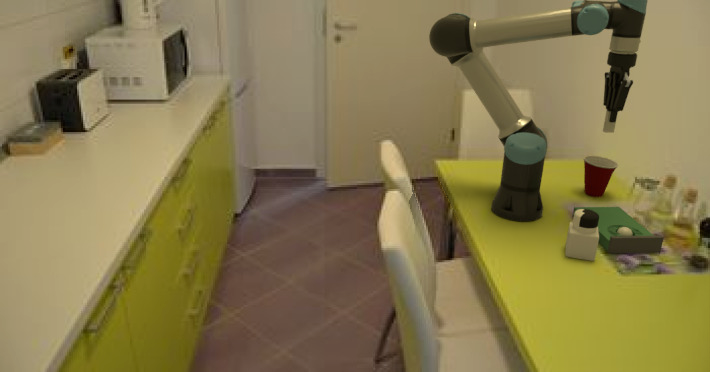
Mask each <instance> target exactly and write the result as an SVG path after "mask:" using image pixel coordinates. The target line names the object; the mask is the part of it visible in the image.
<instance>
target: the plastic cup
mask: <svg viewBox="0 0 710 372" xmlns="http://www.w3.org/2000/svg"><path fill="white" fill-rule="evenodd" d="M583 163H584V167H583V169H584V177H583V178H584V179H583V180H584V181H583V182H584V194H585V195H586V196H589V197H593V198H601V197H604V195H605V192H606V189H607V187H608V185H609V183H610V180H611V178H612V175H613V173H614V172H615V170H616V169H617V168H618V167H619V165H620V164H619V163H618V161H615V160H613V159H611V158H608V157H605V156H601V155H600V156H599V155H594V154H593V155H590V154H589V155H585V156H583Z"/></svg>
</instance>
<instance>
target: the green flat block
mask: <svg viewBox="0 0 710 372" xmlns="http://www.w3.org/2000/svg"><path fill="white" fill-rule="evenodd" d="M579 209H589V210H592V211H594V212H596V213H598V215H599V222H598V232H599V241H598V244H600V245H601V246H602V248H603V249H605V250H606V251H607V252H608V253H609V254H650V253H651V254H653V253H656V254H657V253H659V254H660V253H661V251H662V245H663V243H664V236H663V235H661V234H660V235H657V234H656V235H655V234H653V233H652V232H650V231H649V230H647V228H645V227H644V226H643V225H642V224H641V223H639V222H638V221H637V220H636V219H635V218H633V217H632V216H631V215H630V214H628V213H627V212H626V211H625V210H624V209H622V208H621V207H620V206H578V207H577V206H576V207H575V206H574V207H573V211H572V217H573V218H574V213H575V211H576V210H579ZM621 227H627V228H629V229H630V230H631V231H632V233H633V236H622V235H620V234H618V233H617V231H618V229H619V228H621Z"/></svg>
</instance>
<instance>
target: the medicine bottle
mask: <svg viewBox="0 0 710 372" xmlns="http://www.w3.org/2000/svg"><path fill="white" fill-rule="evenodd" d="M572 219H573V220H572V221H570V222H569V225H568V229H567V230H568V231H567V234H566V240H565V257H566V258H571V259H572V258H573V259H579V260H584V261H590V262H591V261H592V262H595V260H596V255H597V251H598V245H599V242H598V241H599V232H598V222H599V215H598V213H596V212H594V211H592V210H589V209H579V210H576V211H575V213H574V217H573V218H572Z"/></svg>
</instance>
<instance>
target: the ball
mask: <svg viewBox="0 0 710 372" xmlns="http://www.w3.org/2000/svg"><path fill="white" fill-rule="evenodd" d="M617 233H618V234H620V235H622V236H633V233H632V231H631V230H630V229H629V228H627V227H621V228H619V229H618V231H617Z"/></svg>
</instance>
